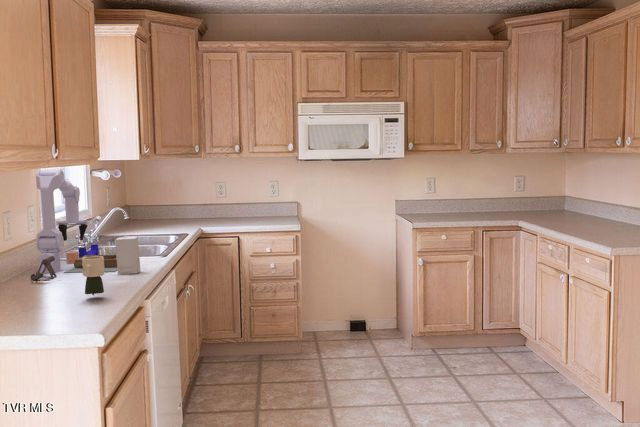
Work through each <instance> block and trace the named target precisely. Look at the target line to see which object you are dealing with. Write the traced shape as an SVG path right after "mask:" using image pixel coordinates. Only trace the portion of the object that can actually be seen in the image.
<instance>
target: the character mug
mask: <svg viewBox="0 0 640 427" xmlns="http://www.w3.org/2000/svg"><path fill="white" fill-rule="evenodd" d="M82 266H83V273H82V275H83V276H84V277H86V280H85V284H84V285H85V286H84V287H85V288H84V294H85V295H92V296H94V295H96V294H103V293H104V292H105V289H104V283H103V278H102V276H103V275H104V276H105V272H104V257H103V256H90V257H84V258H82Z"/></svg>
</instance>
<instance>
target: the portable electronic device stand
mask: <svg viewBox="0 0 640 427" xmlns="http://www.w3.org/2000/svg"><path fill="white" fill-rule="evenodd" d="M54 260H55V257H54V256H51V257H48V258H46V259H44V260H42V263H41V265H40V267H39V266H38V269H37V272H35V273H33V274H30V280H31V281H34V282H35V281H37V279H40V278H42V277H43V276H44V275H45V273H44V272H45V270H46V267H47V269H48V271H49V273H48V274H49V276H50V277H51V279H52V280H53V279H55V278H57V277H58V275H57V273H55V272H54V270H53V268H52V266H51V262H52V261H54ZM43 264H44V265H45V267H44V270H43V272H42V273H40V270H41V268H42V265H43Z"/></svg>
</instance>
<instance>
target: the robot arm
mask: <svg viewBox="0 0 640 427" xmlns="http://www.w3.org/2000/svg"><path fill="white" fill-rule="evenodd" d="M35 181H36V184H35V185H36V189H38V190H40V200H41V201H40V202H41V216H42V229H41V230H40V231H38V233H37V234H36V239H35V240H36V241H35V246H36V247H35V248H36V249H37V251H39V253H41V254H40V255H39V258H38V268H39V267H40V265H41V263H42V260H44V259H46V258H48V257H51V256H54V257H55V260H54V261H52V262H51V266H52V268H53V270H54V272H55V274H57V273H59V272H61V271H63V270H64V268H61V254H60V253H61V251H63V250H62V249H63V248H64V245H65V241H67V240H68V235H67V232H68V231H67V229H68V226H78V229H79V241H83V240H84V238H85V233H86V230H87V229H88V226H89V225H90V220H82V219H81V220H80V211H79V208H80V207H79V202H80V197H81V196H80V195H81V190H80V188H79V187H78V186H77V185H75V186H74V185H73V183H72V182H71V181H70V180H69V179H66V178H65V174H64V171H63V169H60V168H59V169H38V171H36V174H35ZM56 190H59V191H60V192H61V195H62V197H63V199H64V204H65V220H56V212H55V200H54V199H55V197H54V192H55V191H56ZM56 226H57V227H56ZM44 267H45V265H44V264H43V265H42V268H41V270H40V273H41V274H42V272H43V270H44ZM44 274H50V273H49V271H48V269H47V267H46V270H45V272H44Z"/></svg>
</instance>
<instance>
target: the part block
mask: <svg viewBox="0 0 640 427" xmlns="http://www.w3.org/2000/svg"><path fill="white" fill-rule="evenodd" d="M65 253H66V255H65V256H66V265H71V264H73V265H74V263H75V260H76V259H79V251H68V252H65Z"/></svg>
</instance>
